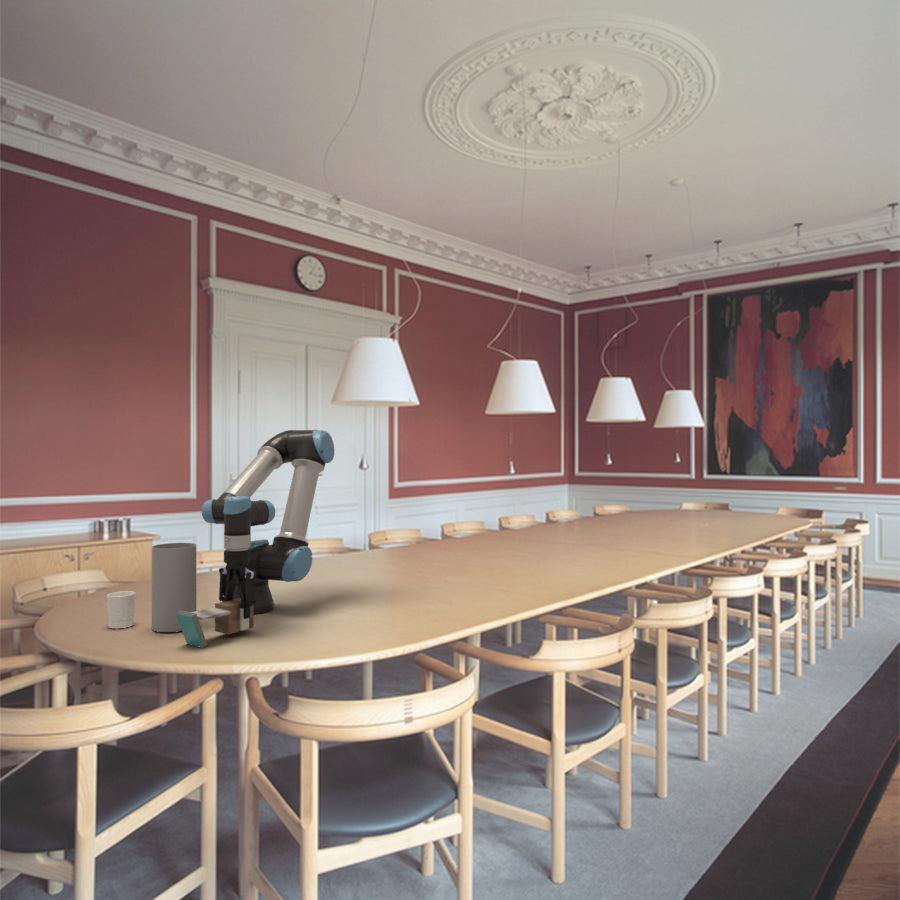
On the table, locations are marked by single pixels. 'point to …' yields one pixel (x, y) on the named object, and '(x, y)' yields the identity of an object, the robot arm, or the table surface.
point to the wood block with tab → (226, 616)
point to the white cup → (121, 609)
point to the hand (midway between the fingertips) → (236, 627)
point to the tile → (191, 628)
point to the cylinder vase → (172, 584)
